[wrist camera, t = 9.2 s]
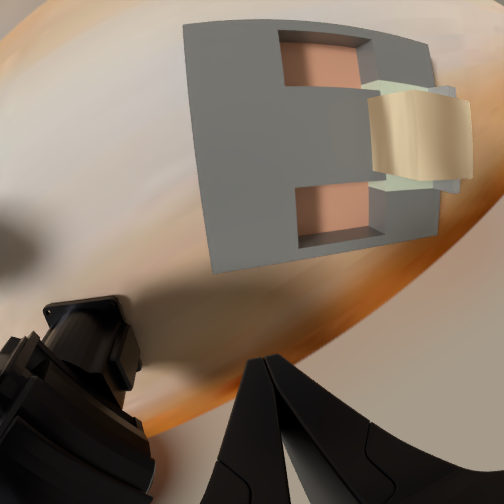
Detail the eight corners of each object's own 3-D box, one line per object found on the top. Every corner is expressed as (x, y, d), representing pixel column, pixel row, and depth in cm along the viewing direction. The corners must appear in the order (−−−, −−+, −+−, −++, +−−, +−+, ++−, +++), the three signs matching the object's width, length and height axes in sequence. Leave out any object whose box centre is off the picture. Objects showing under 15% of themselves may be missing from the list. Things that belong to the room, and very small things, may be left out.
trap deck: (211, 258, 19) (214, 290, 15) (184, 40, 14) (180, 9, 10) (417, 225, 21) (455, 243, 17) (407, 50, 16) (446, 39, 12)
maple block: (372, 170, 16) (420, 180, 12) (367, 98, 15) (414, 89, 10) (425, 168, 17) (472, 179, 13) (421, 104, 15) (469, 101, 11)
